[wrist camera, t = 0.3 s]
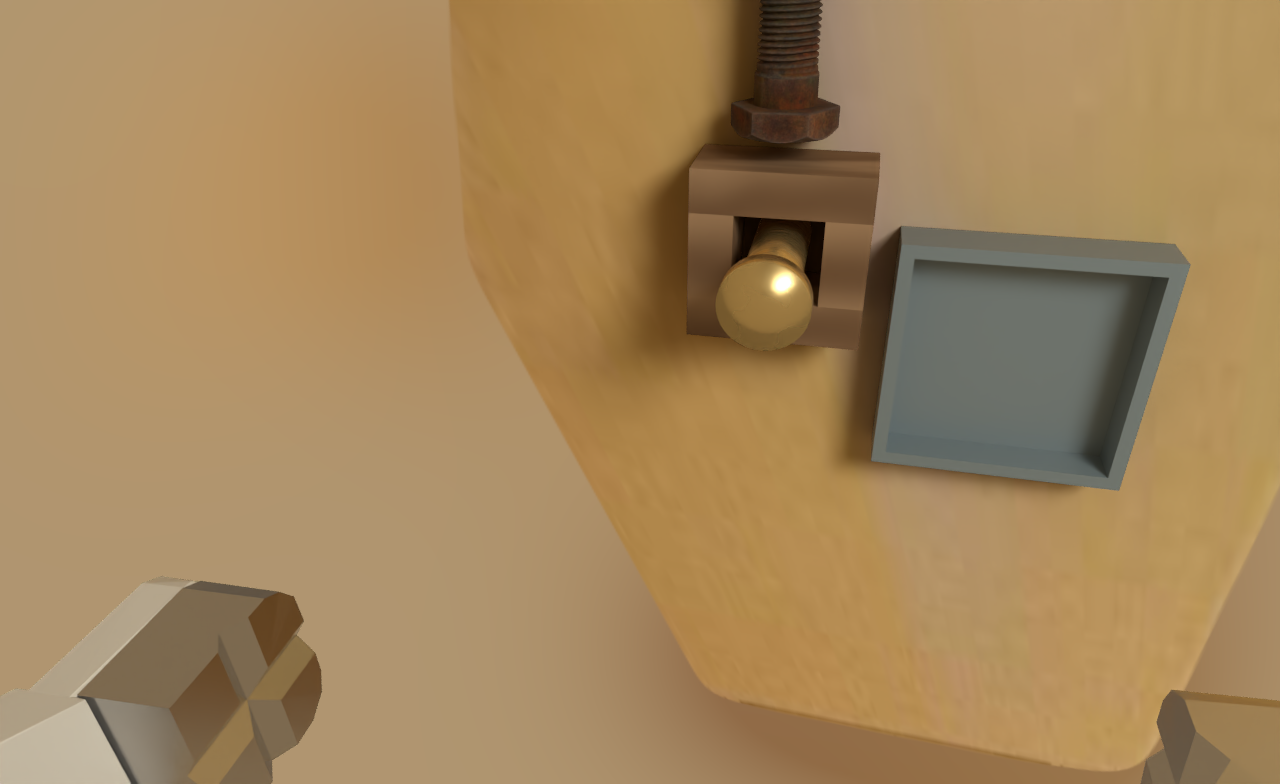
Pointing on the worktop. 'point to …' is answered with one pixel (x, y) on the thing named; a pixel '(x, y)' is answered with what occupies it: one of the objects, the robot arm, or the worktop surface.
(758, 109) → the bolt
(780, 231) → the pin
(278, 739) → the robot arm
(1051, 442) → the tray
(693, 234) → the holder
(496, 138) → the worktop surface
